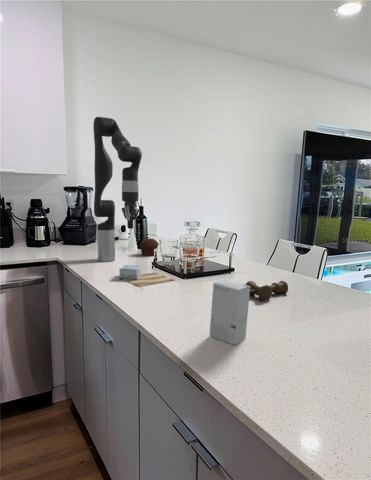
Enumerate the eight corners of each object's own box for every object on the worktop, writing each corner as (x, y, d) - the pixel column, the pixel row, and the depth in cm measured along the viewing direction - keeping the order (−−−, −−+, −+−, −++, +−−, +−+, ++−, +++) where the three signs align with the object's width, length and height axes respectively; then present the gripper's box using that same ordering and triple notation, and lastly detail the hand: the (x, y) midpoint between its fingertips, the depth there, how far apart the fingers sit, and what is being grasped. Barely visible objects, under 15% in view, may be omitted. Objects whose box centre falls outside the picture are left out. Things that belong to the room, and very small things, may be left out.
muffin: (143, 257, 193) (143, 240, 192) (136, 254, 203) (136, 238, 201) (162, 255, 199) (162, 239, 198) (154, 252, 208) (154, 237, 207)
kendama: (293, 297, 125) (252, 304, 115) (274, 291, 133) (235, 297, 123) (294, 282, 124) (253, 287, 114) (275, 277, 132) (236, 281, 123)
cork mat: (120, 278, 145) (120, 277, 145) (154, 272, 157) (154, 272, 157) (139, 287, 133) (139, 286, 133) (175, 280, 144) (175, 279, 144)
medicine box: (141, 265, 151) (137, 269, 142) (141, 275, 151) (137, 279, 143) (124, 265, 151) (119, 269, 143) (124, 274, 152) (119, 279, 143)
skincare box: (209, 336, 88) (210, 282, 86) (221, 329, 93) (223, 278, 91) (236, 346, 83) (238, 289, 81) (248, 338, 88) (250, 284, 85)
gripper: (116, 190, 154) (116, 227, 157) (130, 191, 144) (130, 230, 147) (130, 190, 159) (130, 226, 162) (144, 191, 149) (144, 229, 151)
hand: (130, 228), depth 154 cm, fingers closed
